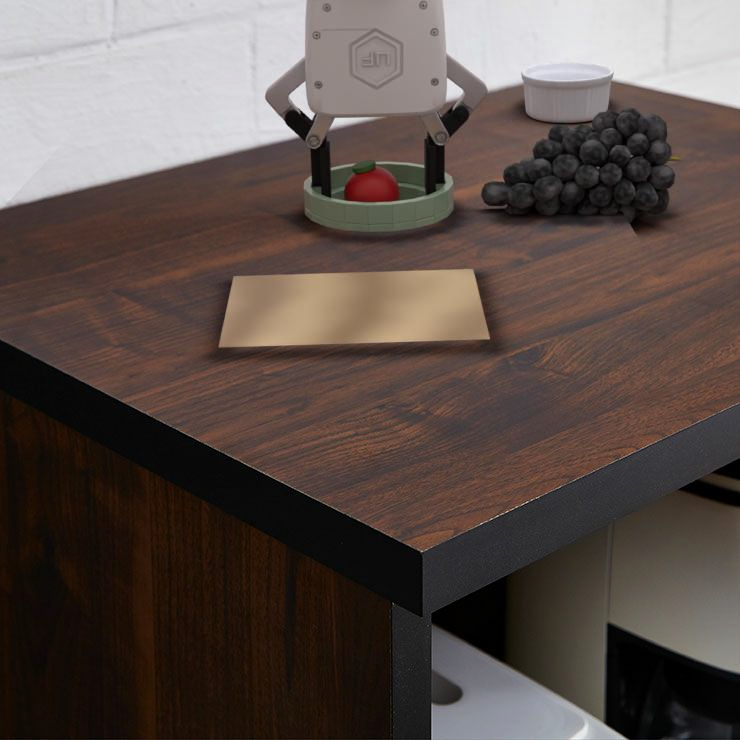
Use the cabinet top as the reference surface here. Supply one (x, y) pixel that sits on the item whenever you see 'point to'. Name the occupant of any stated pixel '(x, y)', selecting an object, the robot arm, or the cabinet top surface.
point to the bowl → (380, 215)
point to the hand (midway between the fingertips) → (378, 192)
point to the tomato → (371, 184)
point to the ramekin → (566, 91)
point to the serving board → (353, 308)
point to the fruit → (592, 169)
